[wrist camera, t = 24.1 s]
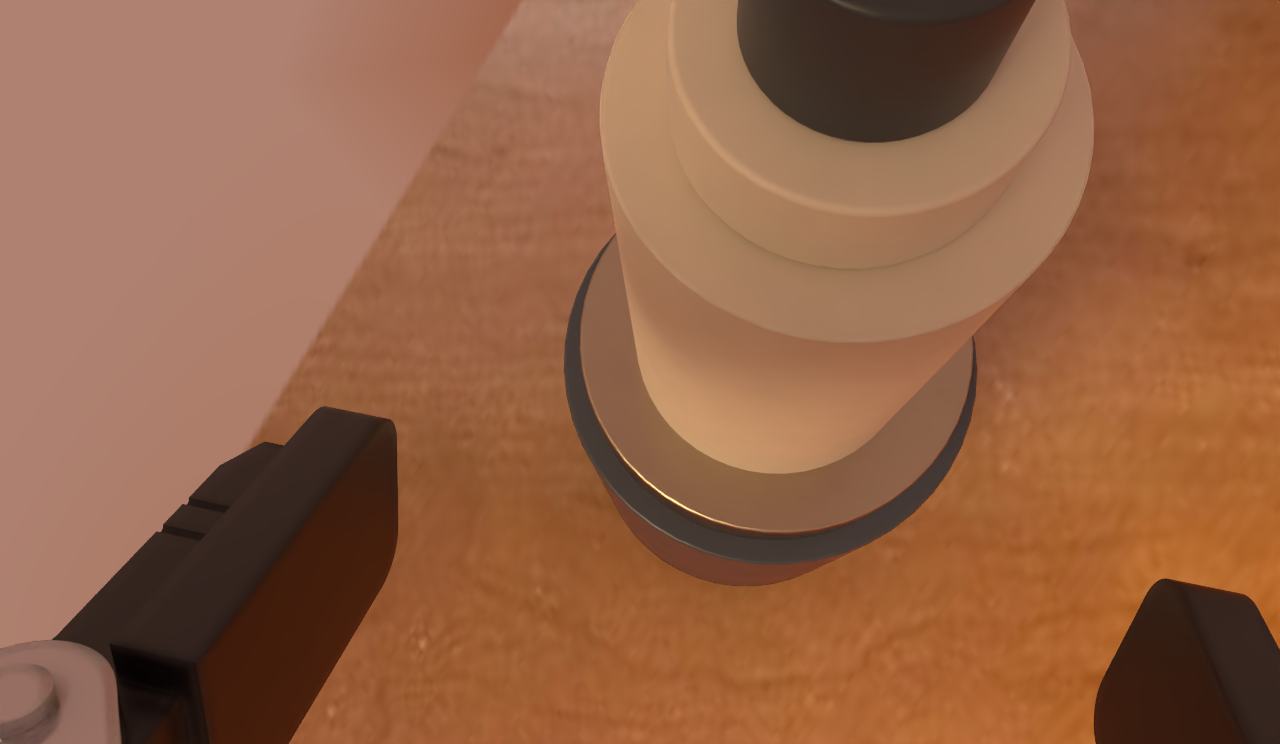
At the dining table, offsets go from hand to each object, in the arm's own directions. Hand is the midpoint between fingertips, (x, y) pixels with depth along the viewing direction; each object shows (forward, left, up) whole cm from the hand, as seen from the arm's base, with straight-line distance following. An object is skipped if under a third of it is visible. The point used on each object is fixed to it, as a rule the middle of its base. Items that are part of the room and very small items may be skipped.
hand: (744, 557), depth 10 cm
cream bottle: (0, +5, -8) cm, 10 cm away
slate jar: (0, +5, -20) cm, 21 cm away
